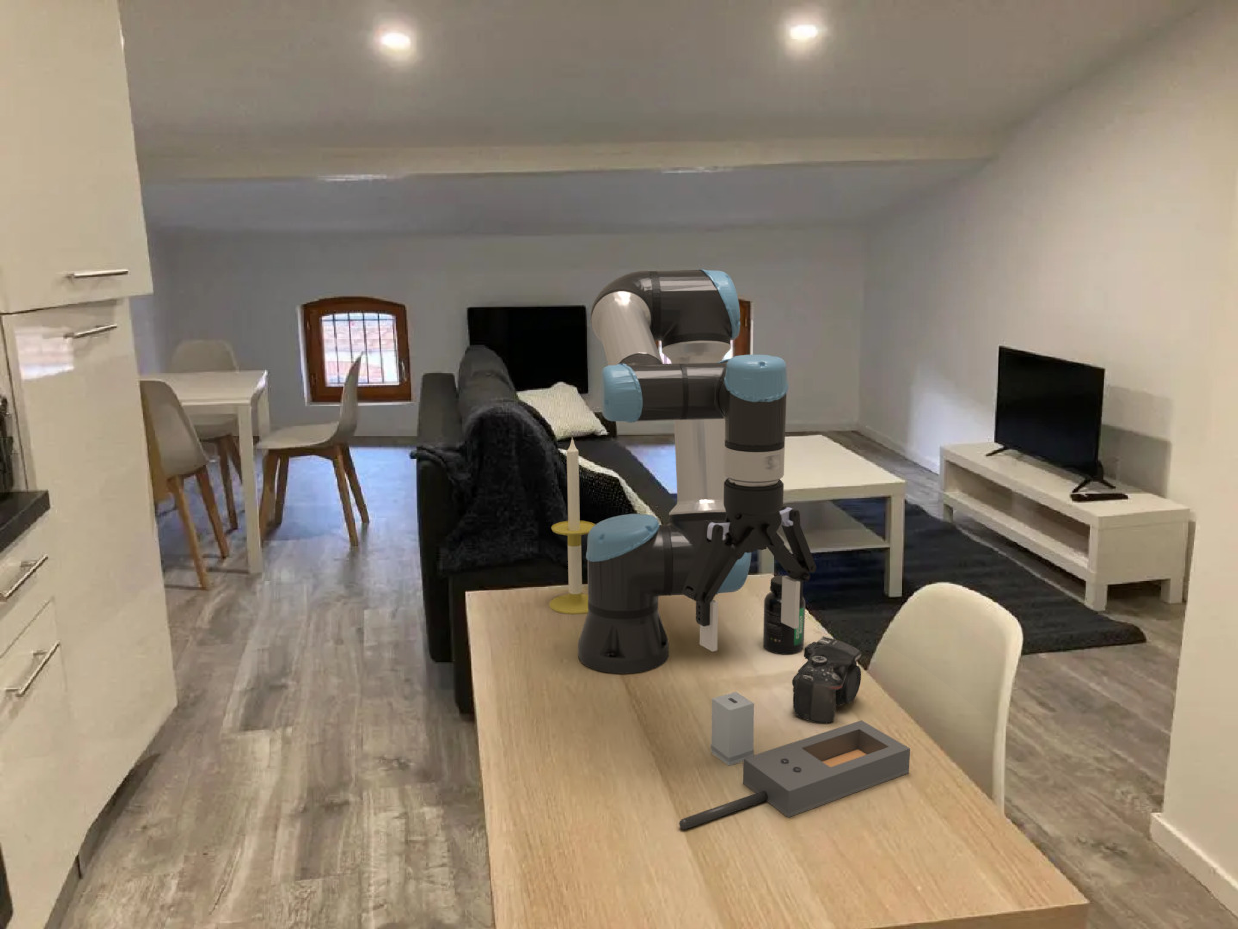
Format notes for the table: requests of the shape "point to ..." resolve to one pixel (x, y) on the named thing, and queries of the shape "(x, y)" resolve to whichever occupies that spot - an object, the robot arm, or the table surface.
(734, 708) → the block
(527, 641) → the table surface
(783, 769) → the power strip
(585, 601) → the candle
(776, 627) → the supplement bottle
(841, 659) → the camera
